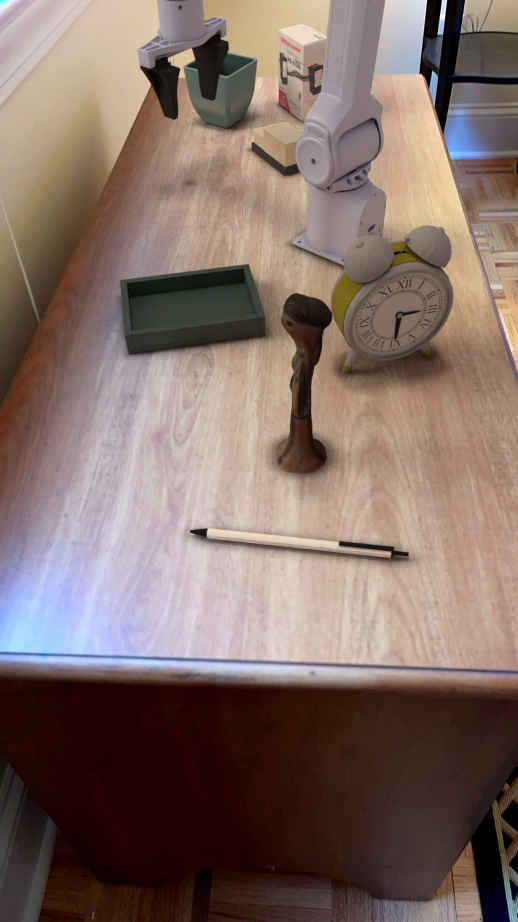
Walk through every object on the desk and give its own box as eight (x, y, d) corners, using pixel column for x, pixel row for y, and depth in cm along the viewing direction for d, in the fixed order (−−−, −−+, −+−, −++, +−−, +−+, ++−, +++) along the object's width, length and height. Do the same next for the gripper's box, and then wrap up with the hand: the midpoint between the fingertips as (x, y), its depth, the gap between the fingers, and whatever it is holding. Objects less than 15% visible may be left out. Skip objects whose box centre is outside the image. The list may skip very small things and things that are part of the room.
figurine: (279, 422, 69) (278, 268, 56) (328, 425, 69) (340, 271, 55) (272, 479, 65) (270, 325, 51) (326, 482, 64) (338, 328, 51)
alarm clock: (341, 383, 73) (352, 260, 62) (320, 343, 77) (327, 221, 66) (442, 362, 75) (471, 238, 63) (416, 324, 79) (439, 202, 68)
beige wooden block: (310, 168, 104) (311, 137, 101) (285, 176, 103) (285, 145, 99) (275, 142, 110) (275, 112, 106) (251, 149, 108) (250, 119, 105)
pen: (407, 561, 58) (409, 554, 58) (187, 538, 60) (186, 530, 60) (407, 552, 59) (409, 545, 58) (189, 529, 61) (188, 522, 60)
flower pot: (260, 116, 116) (258, 57, 110) (231, 136, 112) (228, 77, 105) (217, 105, 120) (213, 48, 113) (187, 125, 115) (181, 66, 108)
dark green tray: (249, 281, 85) (248, 263, 83) (265, 335, 79) (265, 316, 77) (123, 298, 84) (119, 279, 82) (128, 353, 77) (124, 335, 75)
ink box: (276, 104, 119) (276, 27, 110) (301, 98, 121) (303, 21, 112) (301, 122, 114) (303, 43, 105) (327, 116, 116) (331, 37, 107)
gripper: (195, -26, 91) (204, 84, 101) (114, 3, 84) (132, 118, 94) (236, -17, 88) (240, 95, 98) (154, 14, 81) (169, 132, 91)
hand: (190, 107), depth 96 cm, fingers open, 7 cm apart
